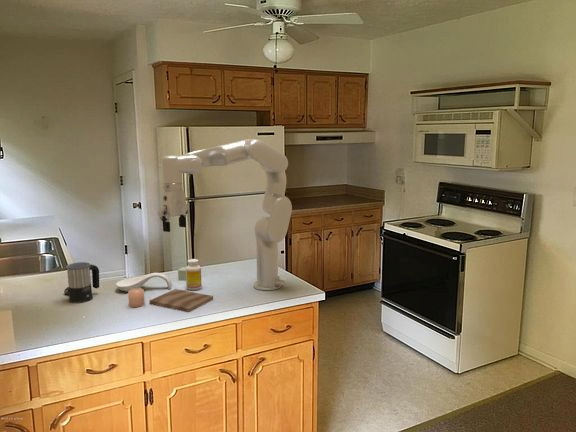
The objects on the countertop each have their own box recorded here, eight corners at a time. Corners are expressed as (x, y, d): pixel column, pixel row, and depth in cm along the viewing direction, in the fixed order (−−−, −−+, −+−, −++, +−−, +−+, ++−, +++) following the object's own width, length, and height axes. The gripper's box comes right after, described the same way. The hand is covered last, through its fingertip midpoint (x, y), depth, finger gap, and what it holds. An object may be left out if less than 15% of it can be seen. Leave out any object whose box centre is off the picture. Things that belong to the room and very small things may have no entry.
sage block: (192, 277, 232) (191, 267, 231) (188, 280, 227) (188, 270, 226) (181, 277, 233) (181, 267, 232) (178, 280, 228) (178, 270, 227)
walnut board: (213, 299, 203) (213, 295, 202) (189, 312, 189) (189, 308, 188) (175, 292, 211) (175, 288, 211) (149, 304, 197) (149, 300, 197)
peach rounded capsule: (147, 303, 198) (146, 289, 197) (137, 308, 193) (136, 293, 192) (136, 301, 200) (135, 287, 199) (125, 306, 195) (124, 291, 194)
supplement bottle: (203, 289, 215) (202, 261, 213) (187, 291, 212) (186, 263, 210) (199, 285, 221) (199, 257, 219) (185, 286, 219) (184, 259, 216)
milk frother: (83, 304, 197) (81, 268, 195) (49, 301, 201) (46, 266, 198) (103, 292, 211) (101, 259, 208) (71, 290, 214) (69, 257, 212)
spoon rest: (113, 295, 209) (112, 279, 207) (119, 286, 220) (118, 271, 219) (170, 292, 212) (169, 276, 210) (172, 284, 223) (172, 269, 222)
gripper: (165, 190, 183) (167, 234, 186) (194, 185, 198) (195, 226, 201) (150, 188, 186) (152, 232, 189) (179, 184, 202) (181, 224, 205)
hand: (174, 229), depth 195 cm, fingers open, 9 cm apart
